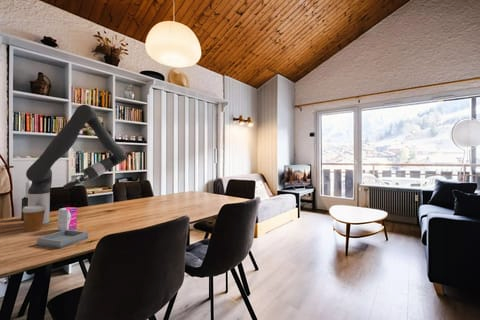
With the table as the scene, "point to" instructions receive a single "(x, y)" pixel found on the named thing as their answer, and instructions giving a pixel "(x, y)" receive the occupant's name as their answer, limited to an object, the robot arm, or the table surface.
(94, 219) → the table surface
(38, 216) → the disposable coffee cup
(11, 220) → the table surface
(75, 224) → the supplement box
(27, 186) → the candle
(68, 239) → the tray
